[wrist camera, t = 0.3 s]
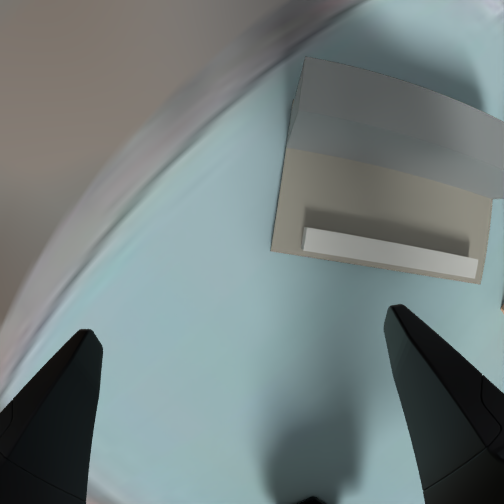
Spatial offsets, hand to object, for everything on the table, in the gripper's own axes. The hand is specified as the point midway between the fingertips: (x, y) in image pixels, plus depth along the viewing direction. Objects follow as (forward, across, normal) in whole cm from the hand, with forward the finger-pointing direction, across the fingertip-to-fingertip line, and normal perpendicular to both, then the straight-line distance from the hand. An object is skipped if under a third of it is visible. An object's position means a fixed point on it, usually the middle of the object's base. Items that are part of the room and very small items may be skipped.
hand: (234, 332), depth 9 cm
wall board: (+14, -11, +4) cm, 19 cm away
